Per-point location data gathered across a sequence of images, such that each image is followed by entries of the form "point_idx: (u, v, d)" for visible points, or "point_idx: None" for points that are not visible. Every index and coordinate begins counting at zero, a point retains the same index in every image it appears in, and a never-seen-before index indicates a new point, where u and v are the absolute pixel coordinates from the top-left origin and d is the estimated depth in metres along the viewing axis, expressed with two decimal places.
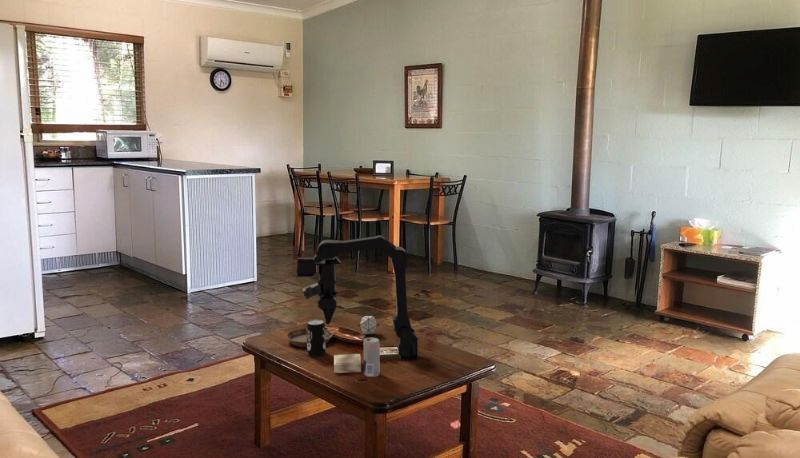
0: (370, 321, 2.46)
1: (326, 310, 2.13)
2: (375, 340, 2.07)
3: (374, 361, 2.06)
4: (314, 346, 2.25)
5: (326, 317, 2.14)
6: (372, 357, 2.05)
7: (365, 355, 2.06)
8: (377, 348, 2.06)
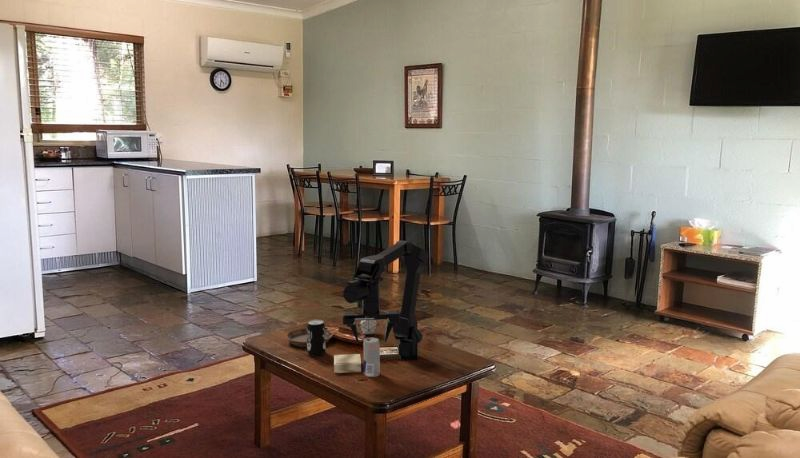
0: (370, 321, 2.46)
1: None
2: (375, 340, 2.07)
3: (374, 361, 2.06)
4: (314, 346, 2.25)
5: None
6: (372, 357, 2.05)
7: (365, 355, 2.06)
8: (377, 348, 2.06)
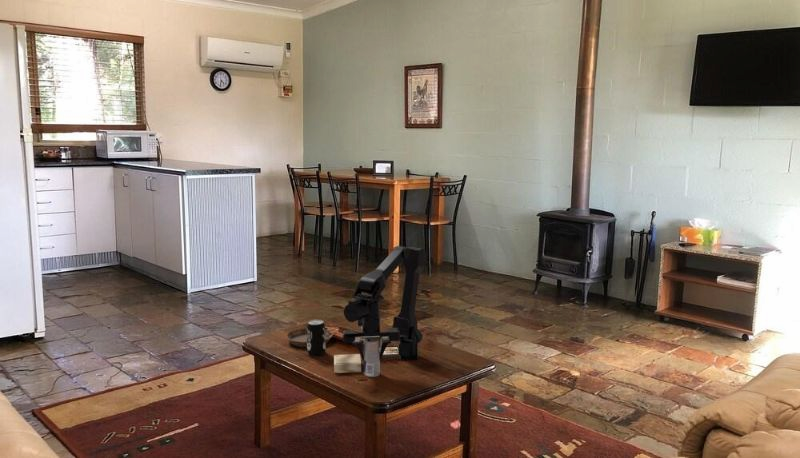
0: None
1: None
2: (375, 340, 2.07)
3: (374, 361, 2.06)
4: (314, 346, 2.25)
5: None
6: (372, 357, 2.05)
7: (365, 355, 2.06)
8: (377, 348, 2.06)
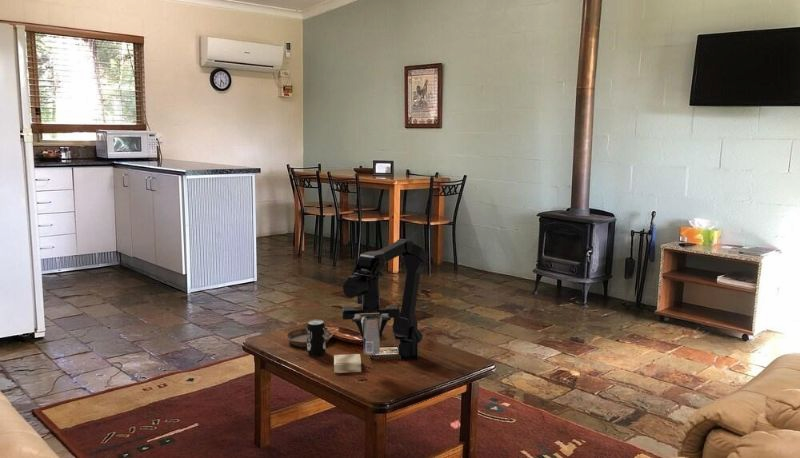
0: None
1: None
2: (375, 318, 2.06)
3: (373, 338, 2.05)
4: (314, 346, 2.25)
5: None
6: (371, 334, 2.04)
7: (365, 333, 2.05)
8: (377, 326, 2.05)
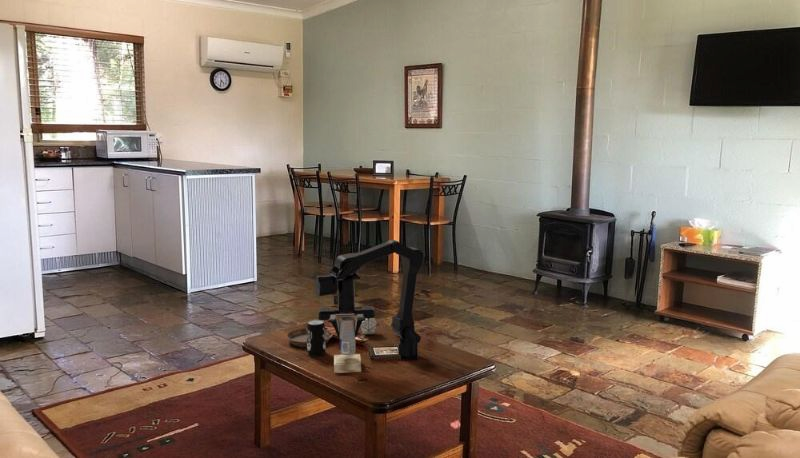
0: (370, 321, 2.46)
1: None
2: (350, 319, 2.13)
3: (349, 339, 2.11)
4: (314, 346, 2.25)
5: None
6: (347, 335, 2.11)
7: (340, 333, 2.11)
8: (352, 326, 2.11)
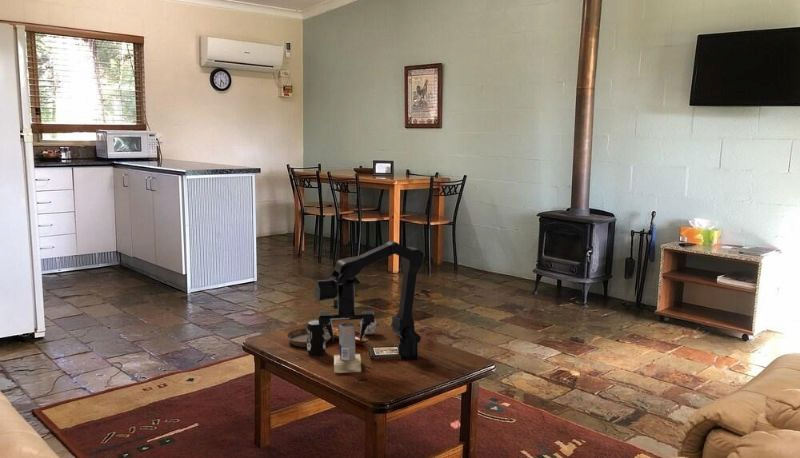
0: None
1: None
2: (350, 325, 2.13)
3: (349, 345, 2.11)
4: (314, 346, 2.25)
5: None
6: (347, 341, 2.11)
7: (340, 340, 2.12)
8: (352, 333, 2.11)
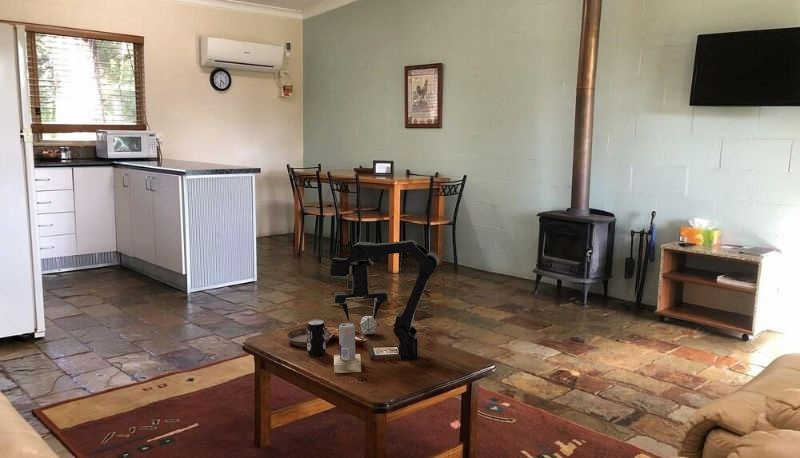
0: (370, 321, 2.46)
1: None
2: (350, 325, 2.13)
3: (349, 345, 2.11)
4: (314, 346, 2.25)
5: None
6: (347, 341, 2.11)
7: (340, 340, 2.12)
8: (352, 333, 2.11)
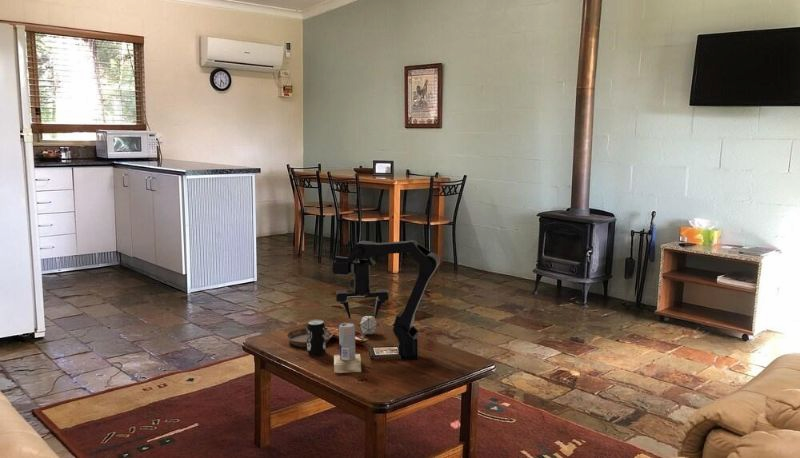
0: (370, 321, 2.46)
1: None
2: (350, 325, 2.13)
3: (349, 345, 2.11)
4: (314, 346, 2.25)
5: None
6: (347, 341, 2.11)
7: (340, 340, 2.12)
8: (352, 333, 2.11)
